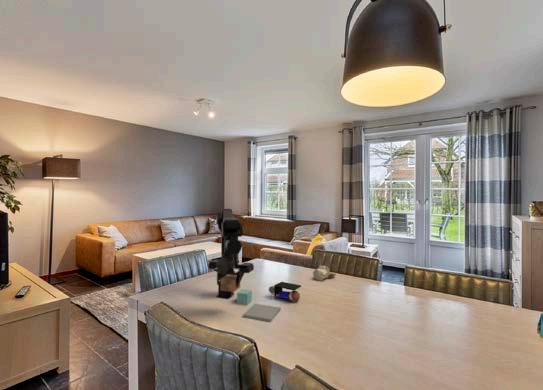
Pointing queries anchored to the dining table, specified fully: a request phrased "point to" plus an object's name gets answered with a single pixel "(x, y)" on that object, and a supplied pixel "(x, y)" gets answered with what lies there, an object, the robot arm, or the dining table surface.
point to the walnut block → (229, 283)
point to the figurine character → (278, 291)
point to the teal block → (244, 297)
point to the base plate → (262, 312)
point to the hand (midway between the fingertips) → (230, 286)
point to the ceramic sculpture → (322, 273)
